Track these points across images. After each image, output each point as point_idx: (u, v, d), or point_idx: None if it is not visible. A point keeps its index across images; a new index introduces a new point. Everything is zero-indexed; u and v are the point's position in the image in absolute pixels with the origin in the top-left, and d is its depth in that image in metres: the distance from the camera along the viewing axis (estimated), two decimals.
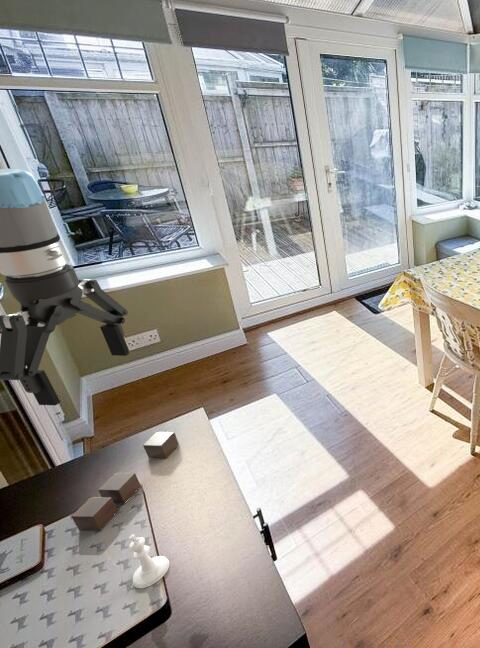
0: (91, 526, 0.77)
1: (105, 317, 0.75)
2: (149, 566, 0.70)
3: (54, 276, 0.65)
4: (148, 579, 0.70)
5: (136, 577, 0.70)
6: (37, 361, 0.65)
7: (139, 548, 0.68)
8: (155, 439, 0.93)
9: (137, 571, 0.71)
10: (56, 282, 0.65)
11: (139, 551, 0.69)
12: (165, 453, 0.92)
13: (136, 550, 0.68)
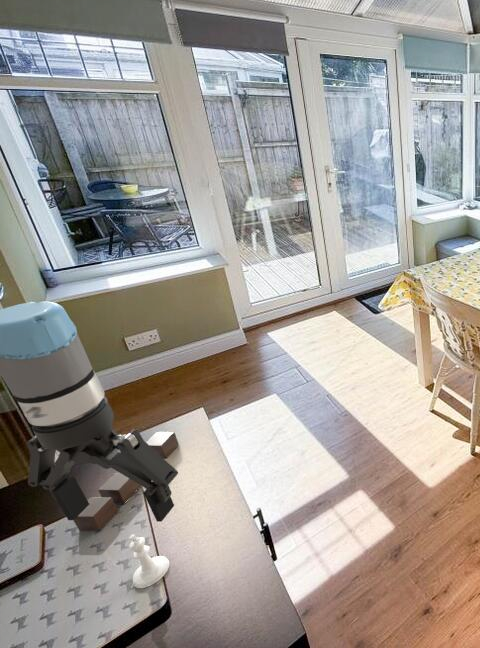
0: (91, 526, 0.77)
1: (133, 479, 0.61)
2: (149, 566, 0.70)
3: (36, 431, 0.54)
4: (148, 579, 0.70)
5: (136, 577, 0.70)
6: (51, 481, 0.61)
7: (139, 548, 0.68)
8: (155, 439, 0.93)
9: (137, 571, 0.71)
10: (38, 437, 0.54)
11: (139, 551, 0.69)
12: (165, 453, 0.92)
13: (136, 550, 0.68)
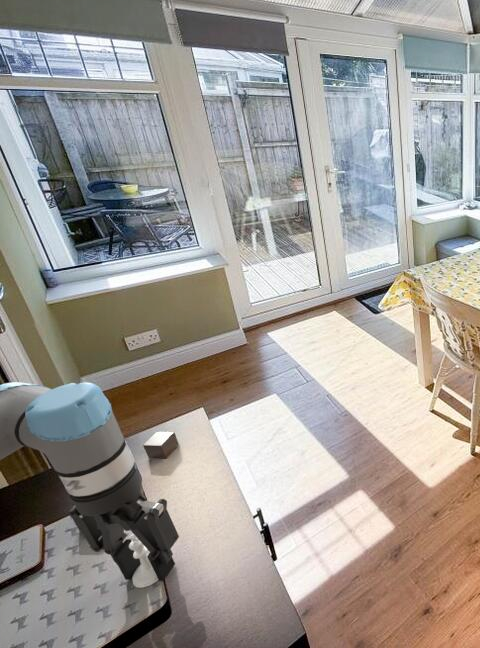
0: None
1: (143, 542, 0.66)
2: (149, 566, 0.70)
3: (74, 500, 0.59)
4: (148, 578, 0.70)
5: (136, 576, 0.70)
6: (108, 546, 0.67)
7: (139, 548, 0.68)
8: (155, 439, 0.93)
9: (137, 570, 0.71)
10: (76, 505, 0.59)
11: (139, 551, 0.68)
12: (165, 453, 0.92)
13: (136, 550, 0.68)
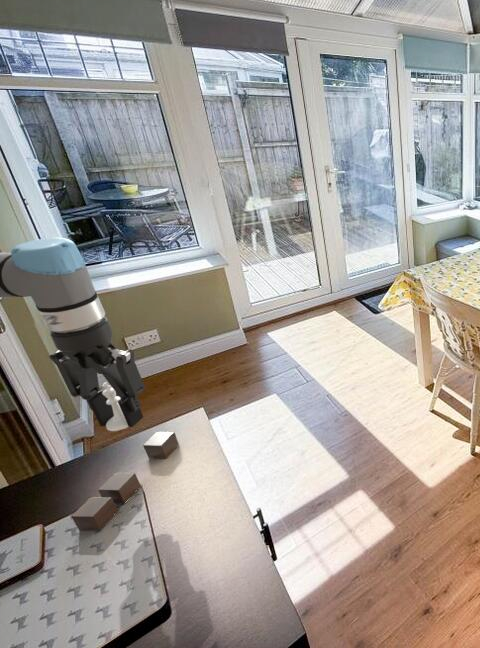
0: (91, 526, 0.77)
1: (114, 387, 0.78)
2: (120, 414, 0.82)
3: (53, 336, 0.71)
4: (119, 424, 0.82)
5: (109, 423, 0.82)
6: (84, 391, 0.79)
7: (111, 395, 0.80)
8: (155, 439, 0.93)
9: (110, 419, 0.83)
10: (55, 341, 0.71)
11: (111, 398, 0.81)
12: (165, 453, 0.92)
13: (108, 396, 0.80)
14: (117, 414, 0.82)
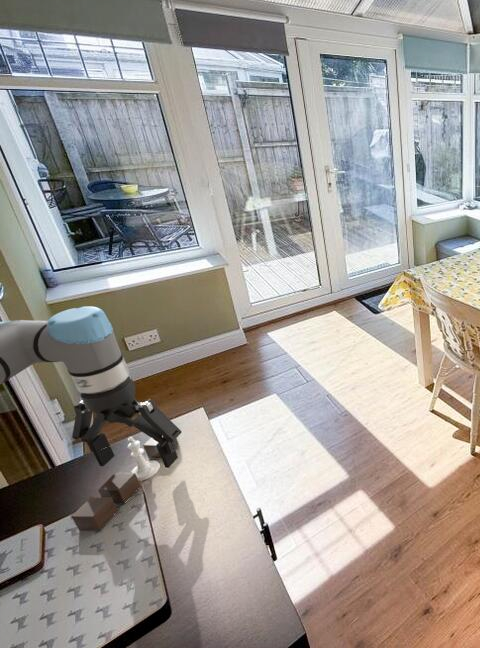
0: (91, 526, 0.77)
1: (149, 435, 0.84)
2: (143, 465, 0.88)
3: (83, 397, 0.77)
4: (142, 474, 0.88)
5: None
6: (89, 436, 0.84)
7: (135, 448, 0.86)
8: None
9: (134, 469, 0.89)
10: (84, 401, 0.77)
11: (135, 451, 0.87)
12: None
13: (133, 449, 0.86)
14: (140, 465, 0.88)
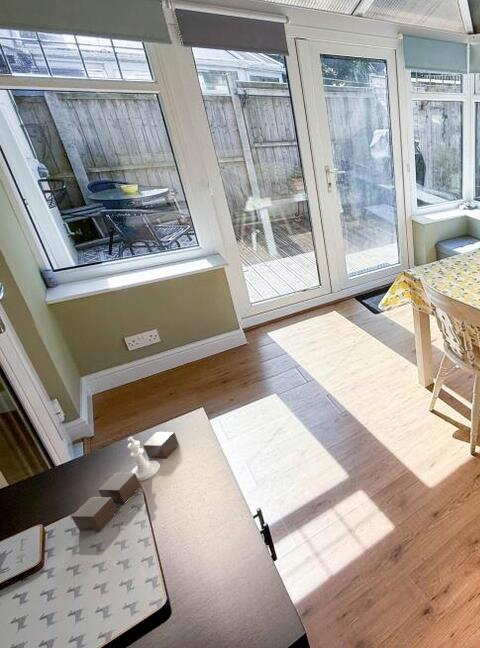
0: (91, 526, 0.77)
1: None
2: (143, 465, 0.88)
3: None
4: (142, 474, 0.88)
5: None
6: None
7: (135, 448, 0.86)
8: (155, 439, 0.93)
9: (134, 469, 0.89)
10: None
11: (135, 451, 0.87)
12: (165, 453, 0.92)
13: (133, 449, 0.86)
14: (140, 465, 0.88)
